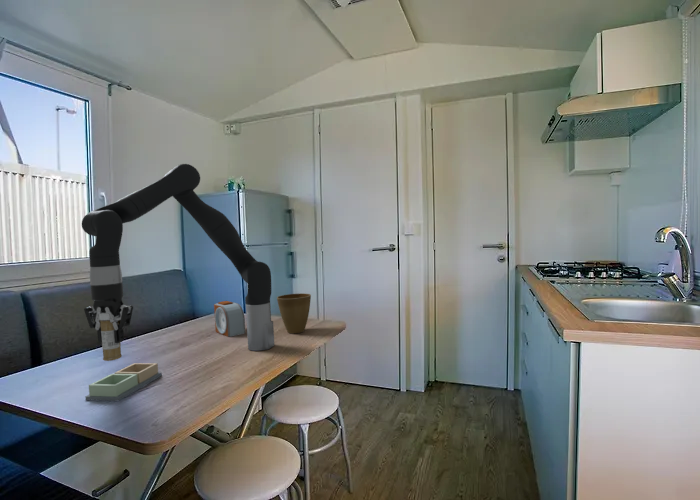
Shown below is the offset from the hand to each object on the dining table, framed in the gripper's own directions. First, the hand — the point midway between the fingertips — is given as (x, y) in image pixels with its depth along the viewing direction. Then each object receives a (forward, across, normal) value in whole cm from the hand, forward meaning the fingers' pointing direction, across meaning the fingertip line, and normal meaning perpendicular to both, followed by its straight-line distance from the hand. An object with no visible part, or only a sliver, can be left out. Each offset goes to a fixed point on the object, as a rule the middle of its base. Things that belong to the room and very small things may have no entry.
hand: (111, 342), depth 105 cm
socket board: (+15, 0, -4) cm, 15 cm away
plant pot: (+15, -33, -65) cm, 75 cm away
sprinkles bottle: (+5, 0, 0) cm, 5 cm away
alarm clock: (+15, -2, -64) cm, 66 cm away
